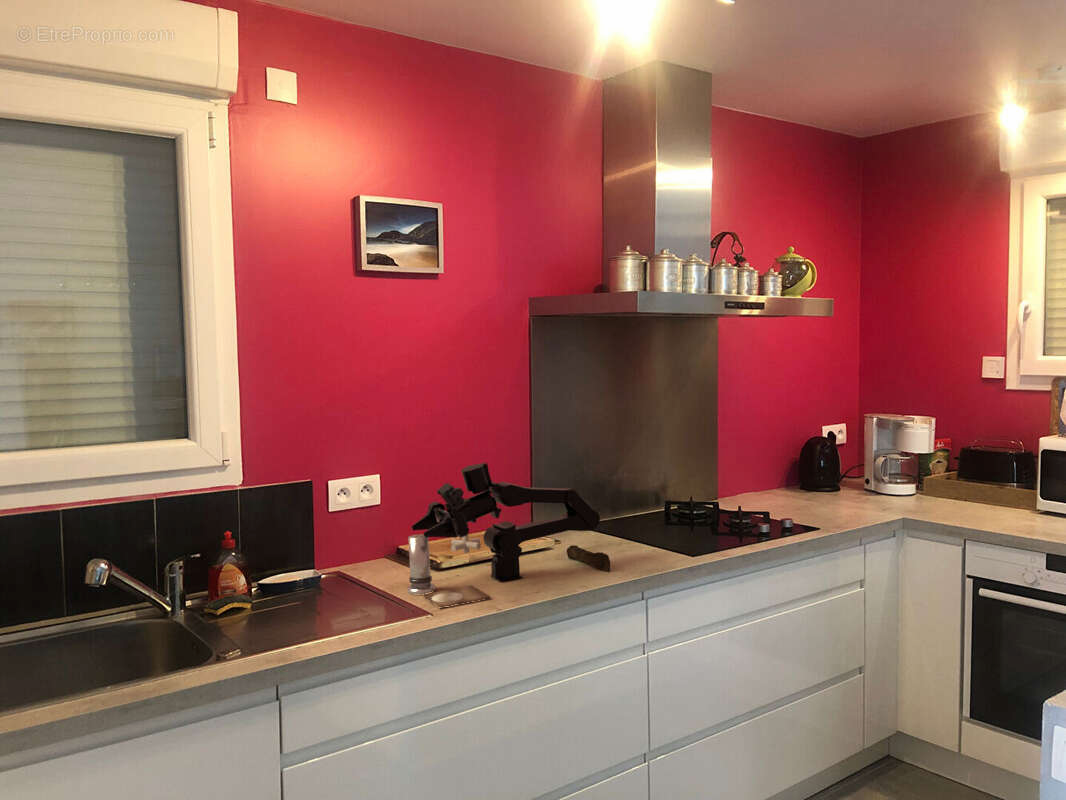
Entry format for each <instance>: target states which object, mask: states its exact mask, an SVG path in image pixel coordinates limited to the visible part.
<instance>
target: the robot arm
mask: <svg viewBox="0 0 1066 800" xmlns="http://www.w3.org/2000/svg"><path fill="white" fill-rule="evenodd" d="M460 470H461V471H460V472H461V475H462V477H463V481H464V484H465V488H466V490H467V492H471V494H472V496H470V497H468V498H465V497H463V495H464V493H465V492H464V490H463V489H462V488H460V487H454V486H453V485H452V484H450V483H447V482H445V483H443V485H442V486H441V487H440V488H439V489H437V490H436V493H437V494H438V496H439V495H440V496H441V498H442V499H443V500H444V501H445V503H444V504H443V503H441V502H438V501H436V500H435V501H433V502H430V503H429V504H428V506H427V507H428V508H427V513H426V514H425V515H424V516H422V517H421V518H419V520H418V521H416V522H415V523H414V524H412V525H411V530H413V531H422V530H423V533H422V534H424V537H428V538H454V539H456V538H459V539H462V537H464V536H466V535H467V534H468V535H469V531H470V528H469V525H468V523H473V524H475V523H476V522H477V520H478V519H479V518H482V517H484V516H487V515H491V517H492V518H494V519H499V518H500V514H501V512H502V508H499V507H498V504H500V505H502V506H506V507H508V508H510V507H511V508H512V507H517V506H522V505H525V504H530V503H535V504H536V503H544V504H549V503H550V504H563V507H564V508H565V510H566V512H565V513H563V514H562V515H558V516H554V517H551V518H546V519H541V520H538V521H534V522H530V523H525V524H521V525H516V524H515V523H512V522H509V521H507V520H506V521H502V522H500V523H492V524H491V525H492V526H490V527H488V528H487V529H486V530H485V532H484V533H483V543H484V544H485V546H486V547H488V548H489V550H490V552H491V553H492V561H491V562H490V563H491V564H490V565H491V567H490V568H491V569H490V570H491V575H490V578H492V579H495V580H496V581H498V582H501V583H503V582H508V581H514V580H519V579H523V578H524V577H523V575H522V574H521V571H520V557H521V554H522V550H523V548H522V547H521V546H520V544H521V543H524V542H527V541H531V540H535V539H540V538H544V537H545V538H546V537H548V536H549V537H550V536H552V535H556V534H561V533H565V532H568V531H569V532H571V531H575V532H591V531H595V530H596V529H598V526H599V525H600V522H601V516H600V514H599V513H598V511H597V510H595V509H593V508H592V507H591V506H590V504H588V503H587V502H586V501H585V500H584V499H583V498H582V497H581V496H580V495H579V493H578V492H577V491H576V490H575V489H573V488H568V487H562V488H561V487H559V488H557V487H526V486H521V485H519V484H514V483H510V482H509V483H508V482H506V481H505V482H504V481H499V482H494V481H492V478H491V474H490V472H489V466H488V463H486V462H481V463H477V464H472V465H471V464H469V465H467V466H465V467H463V468H462V469H460ZM497 503H498V504H497ZM424 530H425V531H424Z"/></svg>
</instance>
